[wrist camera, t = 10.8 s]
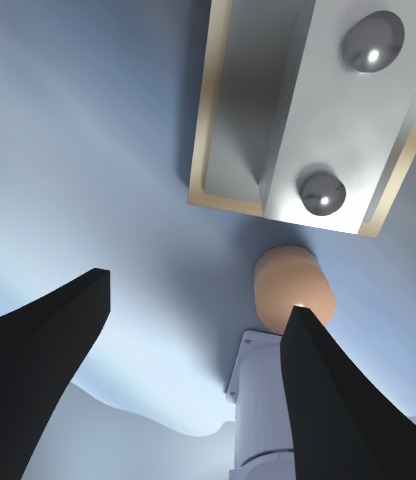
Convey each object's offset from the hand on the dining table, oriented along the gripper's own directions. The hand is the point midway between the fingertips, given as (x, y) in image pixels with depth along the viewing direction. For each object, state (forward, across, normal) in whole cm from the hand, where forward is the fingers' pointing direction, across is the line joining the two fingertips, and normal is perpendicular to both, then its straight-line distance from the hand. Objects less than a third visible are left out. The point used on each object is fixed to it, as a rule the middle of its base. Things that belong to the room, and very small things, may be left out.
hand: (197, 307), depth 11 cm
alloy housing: (+8, -4, -7) cm, 11 cm away
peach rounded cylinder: (+10, -6, +4) cm, 13 cm away
